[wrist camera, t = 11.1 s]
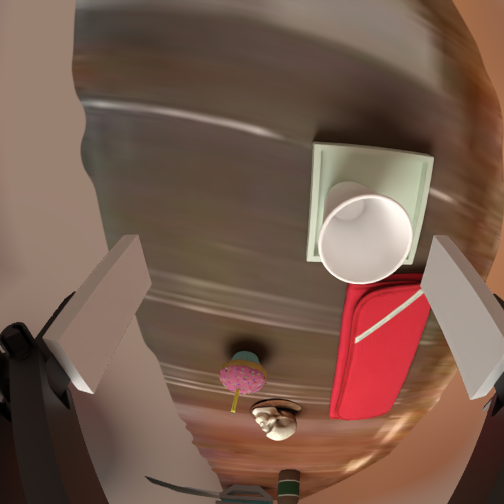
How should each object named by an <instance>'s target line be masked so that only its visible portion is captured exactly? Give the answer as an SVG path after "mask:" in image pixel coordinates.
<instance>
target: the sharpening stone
mask: <svg viewBox="0 0 504 504" xmlns="http://www.w3.org/2000/svg"><path fill="white" fill-rule="evenodd" d="M235 494H251V495H262V496H263V497H245V496H234V495H235ZM219 498H220V499H221V500H222V501H216V504H273V498H272V497H271V496H270V495H269V494H268V493H267V492H266V491H264V490H263V489H262V488H261V487H260V486H249V485H232V486H231V487H229V488H227V489H226V490H224V491H223V492H221V493H220V494H219Z"/></svg>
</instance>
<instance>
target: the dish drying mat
mask: <svg viewBox="0 0 504 504" xmlns="http://www.w3.org/2000/svg"><path fill="white" fill-rule="evenodd" d="M422 278H423V274H421V273H405V274H393V275H389V276H388V277H386V278H384V279H382V280H379V281H376V282H373V283H367V284H353V283H347V288H346V291H347V293H346V298H345V303H344V309H343V314H342V322H341V330H340V340H339V346H338V354H337V363H336V370H335V376H334V382H333V387H332V393H331V400H330V410H329V418H331V419H342V420H360V419H368V418H373V417H377V416H380V415H384V414H386V413H388V412H389V411H390V409H391V407H392V406H393V404H394V402H395V400H396V398H397V396H398V394H399V391H400V389H401V387H402V385H403V382H404V380H405V378H406V376H407V373H408V371H409V368H410V365H411V363H412V360H413V358H414V355H415V352H416V349H417V347H418V344H419V341H420V339H421V336H422V333H423V330H424V327H425V325H426V322H427V318H428V315H429V312H430V309H431V306H430V304H429V302H428V300H427V298H426V296H425V294H424V292H423V290H422V288H421V287H420V284H421V281H422Z"/></svg>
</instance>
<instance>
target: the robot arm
mask: <svg viewBox="0 0 504 504" xmlns="http://www.w3.org/2000/svg"><path fill="white" fill-rule="evenodd" d="M151 284H152V283H151V280H150V276H149V273H148V269H147V266H146V262H145V258H144V255H143V251H142V247H141V243H140V239H139V235H124V236H123V237H122V238H121V239H120V240H119V241H118V242H117V244H116V245H115V246H114V247H113V248H112V249H111V250H110V252H109V253H108V254H107V255H106V256H105V257H104V259H103V260H102V261H101V262H100V263H99V264H98V266H97V267H96V268H95V269H94V270H93V272H92V273H91V274H90V275H89V277H88V278H87V279H86V280H85V281H84V283H83V284H82V285H81V286H80V288H79V289H78V290H77V291H76V292H73V293H72V294H71V295H69V296H68V297H67V298H65V299H64V301H63V302H62V303H61V304H60V306H59V307H58V309H57V310H56V311H55V312H54V314H53V316H51V318H50V319H49V320H48V322H47V323H46V325H45V326H44V327H43V329H42V330H41V331H40V333H39V334H38V335H37V337H36V338H35V339H34V338H33V336H32V335H31V333H30V331H29V330H28V328H27V326H26V325H25V324H24V323H22V322H16V323H13V324H11V325H9V326H7V327H6V328H5V329H4V330H3V331H2V333H1V334H0V345H1V347H2V348H3V350H4V351H5V353H2V352H1V350H0V395H1V396H2V397H3V401H2V403H1V402H0V504H109V503H108V501H107V498H106V496H105V494H104V491H103V489H102V487H101V484H100V482H99V480H98V477H97V474H96V472H95V469H94V467H93V464H92V461H91V458H90V456H89V453H88V450H87V447H86V444H85V441H84V438H83V435H82V432H81V428H80V425H79V421H78V417H77V414H76V410H75V406H74V402H73V398H72V394H71V391H70V389H69V388H68V384H69V382H70V380H71V381H72V382H73V384H74V385H75V386H76V388H77V389H78V390H81V391H85V392H89V393H92V394H94V393H95V390H96V388H97V386H98V384H99V382H100V380H101V378H102V376H103V374H104V372H105V370H106V368H107V366H108V364H109V362H110V360H111V358H112V356H113V354H114V352H115V350H116V348H117V346H118V345H119V342H120V341H121V339H122V337H123V335H124V333H125V331H126V329H127V328H128V326H129V324H130V322H131V320H132V318H133V316H134V315H135V313H136V311H137V309H138V307H139V306H140V304H141V302H142V300H143V299H144V297H145V295H146V293H147V291H148V290H149V288H150V286H151ZM420 287H421V288H422V290H423V292H424V294H425V296H426V298H427V300H428V302H429V304H430V306H431V308H432V310H433V312H434V314H435V316H436V318H437V320H438V323H439V325H440V327H441V329H442V331H443V333H444V336H445V338H446V340H447V342H448V345H449V347H450V349H451V352H452V354H453V356H454V359H455V361H456V364H457V366H458V369H459V371H460V373H461V376H462V379H463V381H464V384H465V387H466V390H467V392H468V395H469V398H470V400H472V399H476V398H479V397H483V396H486V395H487V393H488V392H489V391H490V390H491V388H492V387H493V386H494V387H495V389H496V393H495V395H494V396H493V397H492V398H491V399H490V400H489V401H488V403H487V404H486V405H485V406H484V408H483V411H485V410H486V409H487V408H488V406H490V407H489V410H488V412H487V416H486V419H485V422H484V425H483V428H482V431H481V433H480V436H479V438H478V441H477V443H476V446H475V448H474V451H473V453H472V456H471V458H470V460H469V462H468V464H467V467H466V469H465V471H464V473H463V475H462V477H461V479H460V481H459V483H458V485H457V487H456V489H455V491H454V493H453V495H452V496H451V498H450V500H449V502H448V504H504V301H503V300H502V299H501V298H499V297H498V296H497V295H496V294H492V292H491V291H490V290H489V288H488V287H487V285H486V284H485V282H484V281H483V280H482V278H481V277H480V276H479V274H478V273H477V272H476V270H475V269H474V268H473V266H472V265H471V264H470V263H469V261H468V260H467V259H466V257H465V256H464V255H463V254H462V252H461V251H460V250H459V249H458V248H457V246H456V245H455V244H454V243H453V242H452V240H451V239H450V238H449V237H448V236H444V235H434V237H433V241H432V245H431V249H430V253H429V256H428V260H427V264H426V267H425V271H424V274H423V278H422V281H421V284H420Z"/></svg>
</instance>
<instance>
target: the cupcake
mask: <svg viewBox="0 0 504 504" xmlns="http://www.w3.org/2000/svg"><path fill="white" fill-rule="evenodd" d="M266 379H267V372H266V370H265V369H264V368H263V367H262V366H261V365H260V363H259V360H258V357H257V356H256V355H255V354H254V353H251V352H248V351H240V352H237V353H236V354H235V355H234V356H233V358H232V359H231V361H229V362H227V363H225V364H223V365H222V366H221V369H220V378H219V380H221V382H222V384H223V385H224V386H225V388H227V389H229V390H230V391H231V392H235V397H234V401H233V405H232V409H231V412H232V414H231V416H232V415H233V412H235V409H236V405H237V400H238V396H239V394H251V393H253V392H254V393H255V392H257V391H259V390H260V389H262V387H263V386H264V385H265V384H266Z"/></svg>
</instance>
